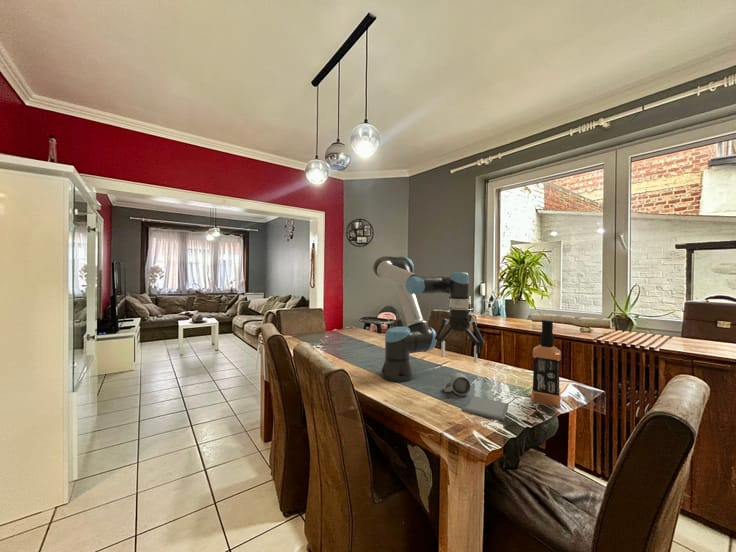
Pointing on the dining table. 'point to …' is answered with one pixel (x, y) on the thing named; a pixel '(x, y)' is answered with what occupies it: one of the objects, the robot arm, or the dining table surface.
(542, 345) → the whiskey bottle
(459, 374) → the ceramic mug
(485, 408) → the trivet
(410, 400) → the dining table surface
